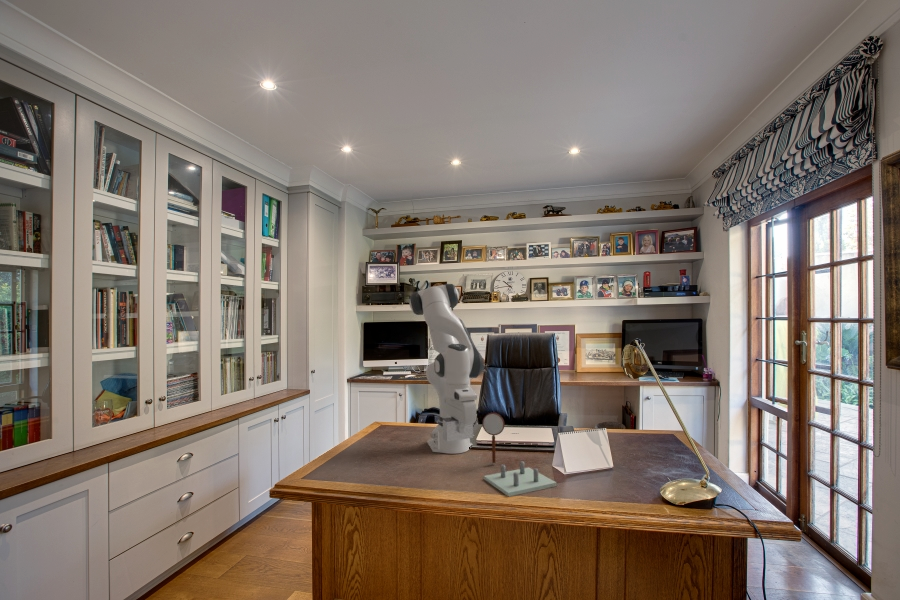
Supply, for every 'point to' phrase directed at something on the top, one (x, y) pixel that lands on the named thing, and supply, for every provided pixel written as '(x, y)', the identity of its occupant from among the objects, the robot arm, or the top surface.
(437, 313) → the robot arm
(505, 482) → the pin tray
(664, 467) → the top surface
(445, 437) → the block
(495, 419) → the magnifying glass
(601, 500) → the top surface
